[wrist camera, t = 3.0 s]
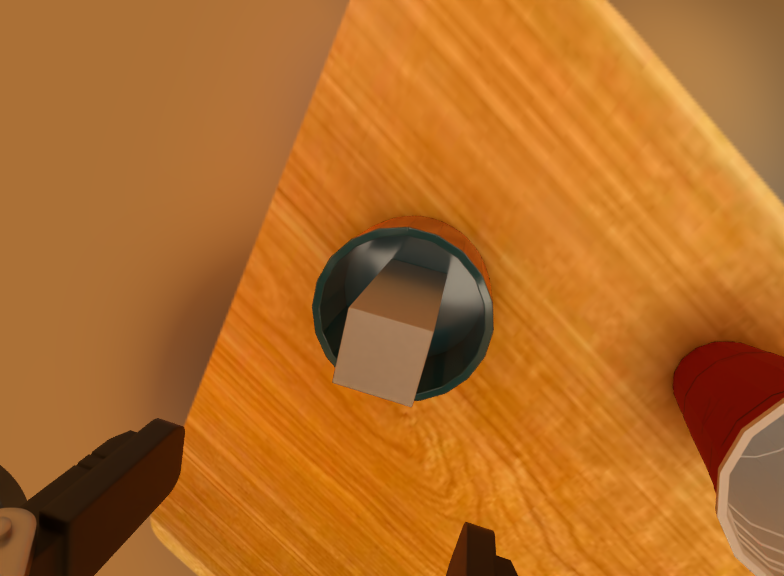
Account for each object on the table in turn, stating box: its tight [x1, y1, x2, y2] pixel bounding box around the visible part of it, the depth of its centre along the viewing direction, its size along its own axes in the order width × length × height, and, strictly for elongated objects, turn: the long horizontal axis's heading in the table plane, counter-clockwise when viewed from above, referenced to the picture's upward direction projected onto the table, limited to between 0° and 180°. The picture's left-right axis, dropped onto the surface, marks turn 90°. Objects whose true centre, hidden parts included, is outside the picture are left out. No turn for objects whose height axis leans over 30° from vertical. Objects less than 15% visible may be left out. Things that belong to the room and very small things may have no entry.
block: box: [332, 259, 447, 407], centre depth 26 cm, size 4×4×11 cm
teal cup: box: [312, 216, 494, 401], centre depth 29 cm, size 11×11×6 cm
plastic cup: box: [673, 342, 784, 576], centre depth 24 cm, size 11×11×12 cm
